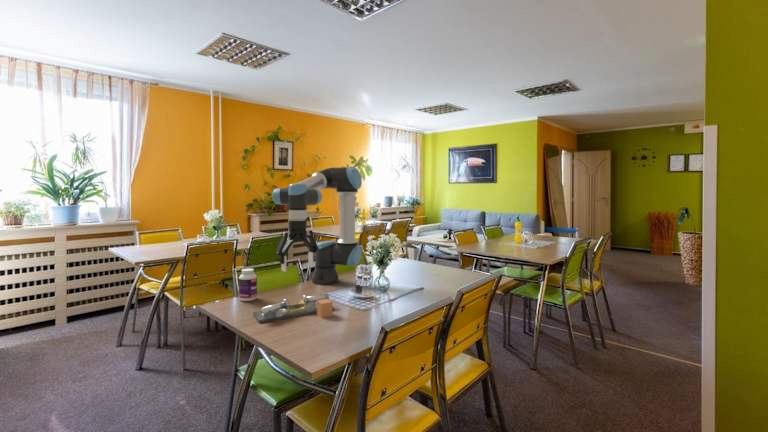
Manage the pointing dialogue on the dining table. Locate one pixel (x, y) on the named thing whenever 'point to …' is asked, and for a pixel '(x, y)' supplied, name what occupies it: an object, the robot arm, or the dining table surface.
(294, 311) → the board
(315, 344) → the dining table surface
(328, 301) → the block
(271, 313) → the shaft
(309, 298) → the shaft
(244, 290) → the pill bottle
